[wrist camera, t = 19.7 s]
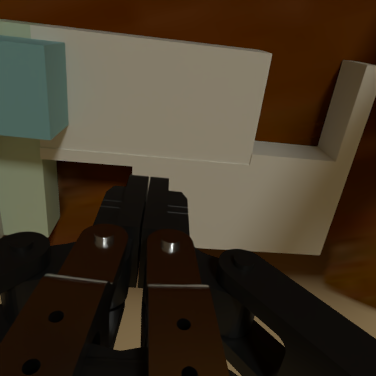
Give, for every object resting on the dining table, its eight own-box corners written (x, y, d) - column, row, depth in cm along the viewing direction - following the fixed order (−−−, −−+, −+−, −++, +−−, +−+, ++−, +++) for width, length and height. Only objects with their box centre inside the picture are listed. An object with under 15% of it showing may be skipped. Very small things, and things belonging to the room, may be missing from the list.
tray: (-16, 17, 26) (-59, 15, 21) (359, 61, 29) (398, 69, 24) (11, 213, 34) (-16, 246, 29) (305, 232, 37) (326, 265, 32)
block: (-22, 32, 24) (-59, 33, 20) (64, 42, 24) (44, 45, 20) (-10, 116, 26) (-40, 131, 23) (68, 124, 26) (50, 140, 23)
